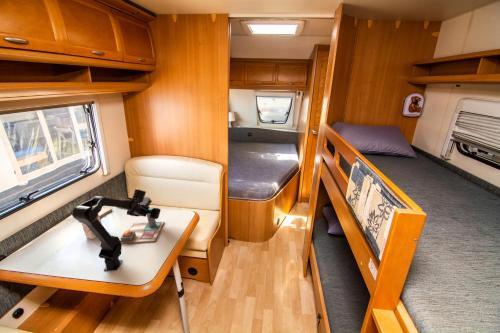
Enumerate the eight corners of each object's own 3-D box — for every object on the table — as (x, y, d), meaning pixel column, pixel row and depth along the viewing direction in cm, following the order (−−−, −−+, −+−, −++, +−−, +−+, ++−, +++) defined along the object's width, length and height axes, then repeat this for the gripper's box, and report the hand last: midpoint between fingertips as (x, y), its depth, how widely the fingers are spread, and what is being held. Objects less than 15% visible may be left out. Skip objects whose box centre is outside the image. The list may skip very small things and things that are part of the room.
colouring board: (155, 242, 133) (154, 236, 132) (120, 244, 132) (118, 238, 130) (164, 222, 152) (163, 217, 151) (133, 224, 150) (132, 219, 149)
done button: (129, 237, 133) (128, 233, 132) (124, 238, 133) (123, 233, 132) (132, 234, 136) (131, 230, 135) (126, 234, 136) (125, 230, 135)
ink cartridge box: (97, 230, 145) (91, 210, 140) (103, 230, 144) (98, 211, 139) (85, 238, 137) (79, 217, 132) (92, 239, 136) (86, 218, 131)
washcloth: (77, 222, 154) (76, 218, 153) (100, 209, 170) (99, 205, 169) (90, 225, 151) (89, 221, 150) (113, 211, 167) (112, 207, 166)
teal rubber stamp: (156, 227, 145) (153, 210, 141) (149, 229, 144) (145, 212, 139) (156, 223, 149) (153, 207, 145) (148, 225, 148) (145, 208, 143)
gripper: (156, 197, 133) (169, 204, 147) (129, 194, 136) (143, 201, 150) (150, 216, 128) (163, 221, 142) (122, 212, 132) (138, 218, 146)
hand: (152, 215), depth 145 cm, fingers open, 9 cm apart
